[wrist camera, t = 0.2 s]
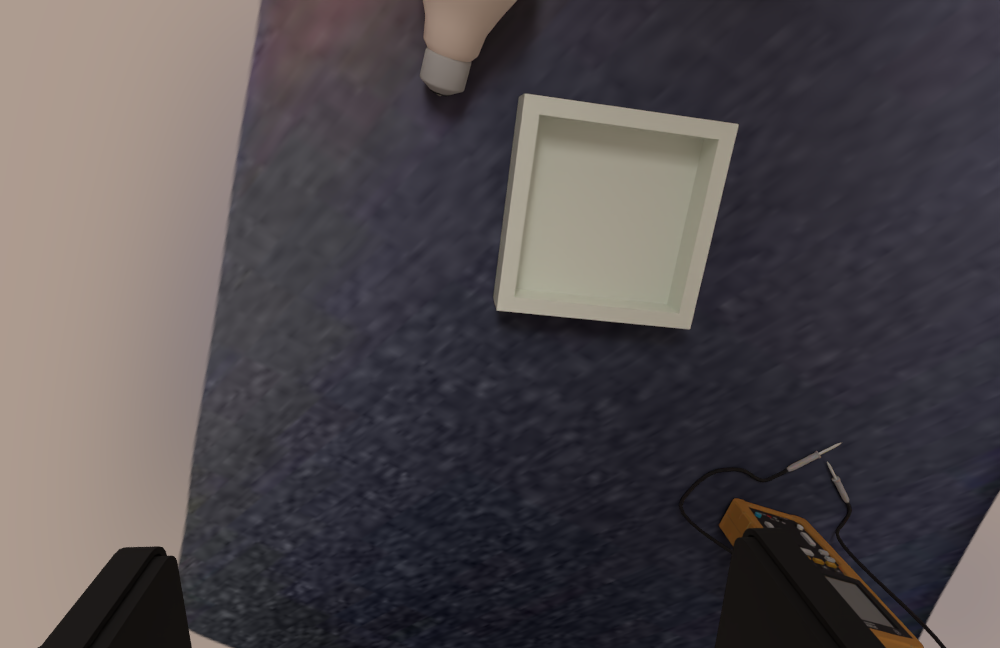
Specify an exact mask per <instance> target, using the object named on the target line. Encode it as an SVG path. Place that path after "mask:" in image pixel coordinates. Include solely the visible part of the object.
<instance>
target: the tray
mask: <svg viewBox="0 0 1000 648" xmlns="http://www.w3.org/2000/svg"><path fill="white" fill-rule="evenodd" d="M738 125H739V124H734V123H727V122H720V121H713V120H706V119H699V118H692V117H685V116H678V115H671V114H664V113H657V112H650V111H643V110H636V109H629V108H622V107H615V106H608V105H601V104H595V103H588V102H581V101H574V100H567V99H560V98H553V97H546V96H539V95H532V94H523V95H521V96H519V99H518V107H517V115H516V123H515V131H514V138H513V146H512V154H511V162H510V170H509V178H508V185H507V193H506V201H505V209H504V217H503V225H502V233H501V240H500V248H499V256H498V264H497V272H496V280H495V287H494V295H493V299H494V303H495V306H496V310H497V311H507V312H517V313H527V314H538V315H548V316H558V317H568V318H578V319H589V320H599V321H609V322H619V323H630V324H640V325H650V326H660V327H671V328H681V329H690V327H691V323H692V319H693V315H694V311H695V306H696V302H697V298H698V294H699V290H700V285H701V281H702V277H703V273H704V269H705V264H706V260H707V256H708V252H709V247H710V243H711V239H712V235H713V231H714V226H715V222H716V218H717V214H718V210H719V205H720V201H721V197H722V193H723V188H724V184H725V180H726V176H727V172H728V167H729V163H730V159H731V155H732V151H733V146H734V142H735V138H736V134H737V130H738Z"/></svg>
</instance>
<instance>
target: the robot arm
mask: <svg viewBox="0 0 1000 648" xmlns="http://www.w3.org/2000/svg"><path fill="white" fill-rule="evenodd" d="M38 648H192V647H191V641H190V635H189V629H188V623H187V617H186V611H185V605H184V599H183V594H182V588H181V582H180V576H179V570H178V564H177V560H176V558H175V557H174V556H167V555H166V551H165V550H164V548H163V547H126V548H122V549H119V550H118V551H117V552H116V553H115V554H114V555H113V557H112V558H111V559H110V560H109V562H108V563H107V564H106V566H105V567H104V568H103V569H102V570H101V572H100V573H99V574H98V575H97V577H96V578H95V579H94V581H93V582H92V583H91V584H90V585H89V587H88V588H87V589H86V591H85V592H84V593H83V594H82V595H81V597H80V598H79V599H78V600H77V602H76V603H75V605H73V607H72V608H71V609H70V611H69V612H68V613H67V614H66V615H65V617H64V618H63V619H62V621H61V622H60V623H59V624H58V625H57V627H56V628H55V629H54V631H53V632H52V633H51V634H50V635H49V637H48V638H47V639H46V640H45V642H44V643H43V644H42V646H40V647H38ZM715 648H886V647H885V646H884V645H883V644H882V642H881V641H880V640H879V639H878V638H877V637H876V635H875V634H874V633H873V632H872V631H871V630H870V628H869V627H868V626H867V625H866V624H865V623H864V621H863V620H862V619H861V618H860V617H859V616H858V614H857V613H856V612H855V611H854V610H853V609H852V607H851V606H850V605H849V604H848V603H847V602H846V600H845V599H844V598H843V597H842V596H841V595H840V593H839V592H838V591H837V590H836V589H835V588H834V586H833V585H832V584H831V583H830V582H829V581H828V580H827V578H826V577H825V576H824V575H823V574H822V573H821V571H820V570H819V569H818V568H817V567H816V566H815V564H814V563H813V562H812V561H811V560H810V559H809V557H808V556H807V555H806V554H805V553H804V552H803V550H802V549H801V548H800V547H799V546H798V545H797V543H796V542H795V541H794V540H793V539H792V538H791V536H790V535H789V534H788V533H787V532H786V531H785V530H784V529H782V528H779V527H774V528H749V529H746V530H745V532H744V533H743V536H742V537H739V538H737V539H736V540H735V542H734V546H733V552H732V557H731V562H730V568H729V573H728V579H727V584H726V590H725V595H724V601H723V606H722V612H721V617H720V622H719V628H718V633H717V639H716V644H715Z"/></svg>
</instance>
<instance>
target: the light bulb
mask: <svg viewBox="0 0 1000 648" xmlns="http://www.w3.org/2000/svg"><path fill="white" fill-rule="evenodd" d="M516 1H517V0H423V4H424V10H425V26H424V37H423V38H424V40H425V42H426V45H427V48H426V50H425V55H424V59H423V63H422V68H421V72H420V78H421V79H422V80H423V81H424V82H425V84H426V85H427V86H428V87H429V88H430V90H431V91H432V92H434V93H436V94H437V95H439V96H450V95H452V94H456V93H460V92H463V91H464V89H465V86H466V82H467V78H468V74H469V71H470V67H471V61H472V60H474V59H475V58H477V57H478V55H479V53H480V50H481V48H482V46H483V43H484V41H485V38H486V36H487V35H488V34H489V33H490V31H491V30H492V29H493V27H494V26H495V25H496V24H497V22H498V21H499V20H500V19H501V18H502V16H503V15H504V14H505V13H506V12H507V11H508V10H509V9H510V8H511V7H512V5H513V4H514V3H515V2H516Z"/></svg>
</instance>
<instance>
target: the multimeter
mask: <svg viewBox="0 0 1000 648" xmlns="http://www.w3.org/2000/svg"><path fill="white" fill-rule="evenodd" d="M840 444H841V443H838V444H835V445H833V446H831V447H829V448H827V449H825V450H823V451H821V452H819V453H818V451H815V453H813V454H811V455H809V456H807V457H805V458H803V459H801V460H799V461H797V462H795V463H793V464H791V465H790V466H789V467H787V468H786V469H785V470H783V471H781V472H779V473H777V474H775V475H773V476H771V477H768V478H765V479H761V478H758V477H756V476H755V475H753V474H752V473H750V472H749V471H747V470H745V469H742V468H722V469H717V470H713V471H711V472H709V473H707V474H705V475H704V476H702V477H701V478H700V479H699V480H697V481H696V482H695V483H694V484H693V485H692V486H691V487H690V488H689V490H688V491H687V492H686V493H685V494H684V496H683V497H682V498H681V501H680V504H679V507H680V510H681V513H682V515H683V516H684V517H685V518H686V520H687V521H688V522H689V523H690V524H691V525H692V526H693V527H695V528H696V529H697V530H698V531H699V532H701V533H702V534H703V535H705V536H706V537H707V538H709V539H710V540H712V541H713V542H714V543H716V544H717V545H719V546H720V547H722V548H723V549H725V550H727V551H728V552H730V553H731V554H732V552H733V550H731V549H729V548H728V547H726V546H725V545H723V544H722V543H720V542H719V541H717V540H716V539H714V538H713V537H711V536H710V535H708V534H707V533H706V532H704V531H703V530H702V529H700V528H699V527H698V526H697V525H696V524H694V523H693V522H692V521H691V520H690V519H689V517H688V516H687V515H686V514H685V512H684V510H683V507H682V505H683V502H684V500H685V498H686V497H687V496H688V495H689V494H690V492H691V491H692V490H693V489H694V488H695V487H696V486H697V485H698V484H699V483H700V482H702V481H703V480H704V479H706V478H707V477H709V476H710V475H713V474H715V473H718V472H724V471H740V472H744V473H746V474H748V475H749V476H751V477H752V478H754V479H755V480H757V481H760V482H767V481H770V480H772V479H775V478H777V477H779V476H781V475H783V474H785V473H787V472H790V471H793V470H796V469H798V468H800V467H802V466H804V465H806V464H808V463H810V462H812V461H814V460H815V459H817V458H821V454H823V453H825V452H827V451H829V450H831V449H833V448H835V447H837V446H839V445H840ZM827 465H828V467H829V469H830V471H831V473H832V475H833V477H832V481H833V482H834V483H835V485H836V487H837V489H838V491H839V493H840V495H841V497H842V499H843V500H844V501H845V502H846V504H847V507H848V513H847V515H846V517H845V518H844V520H843V521H842V523H841V524H840V525H839V526H838V528H837V530H836V532H835V533H836V537H837V539H838V541H839V543H840V544H841V546H842V547H843V548H844V549H845V551H846V552H847V553H848V554H849V555H850V556H851V557H852V559H853V560H854V561H855V562H856V563H857V564H858V565H859V566H860V567H861V568H862V569H863V570H864V571H865V572H866V573H867V574H868V575H869V576H870V577H871V578H872V579H873V580H874V581H876V582H877V583H878V584H879V585H880V586H881V587H882V588H883V589H884V590H885V591H886V592H887V593H888V594H889V595H890V596H891V597H892V598H893V599H895V600H896V601H897V602H898V603H899V604H900V605H901V606H902V607H903V608H904V609H905V610H906V611H907V612H908V613H909V614H910V615H911V616H912V617H913V618H914V619H915V620H916V621H917V622H918V623H919V624H920V625H921V626H922V627H923V628H924V629H925V630H926V631H927V632H928V633H929V634H930V635H931V636H932V637H933V639H934V640H935V641H936V642H937V643H938V644H939V646H940V647H941V648H946V647H945V646H944V645H943V643H942V642H941V641H940V640H939V639H938V637H937V636H936V635H935V634H934V633H933V632H932V631H931V630H930V629H929V628H928V627H927V625H926V624H925V623H924V622H923V621H921V620H920V619H919V618H918V617H917V616H916V615H915V614H914V613H913V612H912V611H911V610H910V609H909V608H908V607H907V606H906V605H905V604H904V603H903V602H902V601H901V600H900V599H899V598H897V597H896V596H895V595H894V594H893V593H892V592H891V591H890V590H889V589H888V588H887V587H886V586H885V585H884V584H883V583H882V582H880V581H879V580H878V579H877V578H876V577H875V576H874V575H873V574H872V573H871V572H870V571H869V570H868V569H867V568H866V567H865V566H864V565H863V564H862V563H861V562H860V561H859V560H858V559H857V558H856V557H855V556H854V555H853V554H852V553H851V552H850V551H849V549H848V548H847V547H846V546H845V545H844V543H843V541H842V540H841V538H840V536H839V531H840V529H841V528H842V527H843V526H844V525H845V523H846V521H847V520H848V519H849V517H850V515H851V511H852V509H851V505H850V503H849V498H848V495H847V493H846V491H845V489H844V487H843V485H842V483H841V481H840V478H839V477H838V476H836V475H835V473H834V471H833V469H832V467H831V465H830V464H829V463H828V462H827ZM719 527H720V528H721V530H722V531H723V532H724V534H725V535H726V537H727V538H728V540H729V541H730V543H731V544H732V546H734V542H735V540H736V539H737V538H739V537H742V536H743V533H744V532H745V530H746V529H749V528H774V527H779V528H782V529H784V530H785V531H786V532H787V533H788V534H789V535H790V536H791V538H792V539H793V540H794V541H795V542H796V543H797V545H798V546H799V547H800V548H801V549H802V550H803V552H804V553H805V554H806V555H807V556H808V557H809V559H810V560H811V561H812V562H813V563H814V564H815V566H816V567H817V568H818V569H819V570H820V571H821V573H822V574H823V575H824V576H825V577H826V578H827V580H828V581H829V582H830V583H831V584H832V585H833V586H834V588H835V589H836V590H837V591H838V592H839V593H840V595H841V596H842V597H843V598H844V599H845V600H846V602H847V603H848V604H849V605H850V606H851V607H852V609H853V610H854V611H855V612H856V613H857V614H858V616H859V617H860V618H861V619H862V620H863V621H864V623H865V624H866V625H867V626H868V627H869V628H870V630H871V631H872V632H873V633H874V634H875V635H876V637H877V638H878V639H879V640H880V641H881V642H882V644H883V645H884V646H885V647H886V648H924V647H923V645H922V644H921V643H920V641H919V640H918V639H917V638H916V637H915V636H914V635H913V634H912V633H911V632H910V631H909V630H908V629H907V627H906V626H905V625H904V624H903V623H902V622H901V621H900V620H899V619H898V618H897V617H896V616H895V615H894V613H893V612H892V611H891V610H890V609H889V608H888V607H887V606H886V605H885V604H884V603H883V602H882V601H881V599H880V598H879V597H878V596H877V595H876V594H875V593H874V592H873V591H872V590H871V589H870V588H869V587H868V585H867V584H866V583H865V582H864V581H863V580H862V579H861V578H860V577H859V576H858V575H857V574H856V573H855V572H854V570H853V569H852V568H851V567H850V566H849V565H848V564H847V563H846V562H845V561H844V560H843V559H842V558H841V557H840V556H839V555H838V553H837V552H836V551H835V550H834V549H833V548H832V547H831V546H830V545H829V544H828V543H827V542H826V541H825V540H824V539H823V538H822V536H821V535H819V533H818V532H817V531H816V530H815V529H814V528H813V527H812V526H811V525H810V524H809V522H808V521H806V520H805V519H803V518H801V517H798V516H795V515H789V514H786V513H783V512H779V511H776V510H772V509H769V508H766V507H762V506H759V505H756V504H752V503H749V502H746V501H744V500H742V499H738V498H735V499H733V501H732V502H731V504H730V506H729V508H728V510H727V511H726V513H725V515H724V517H723V518H722V520H721V522H720V524H719Z"/></svg>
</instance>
